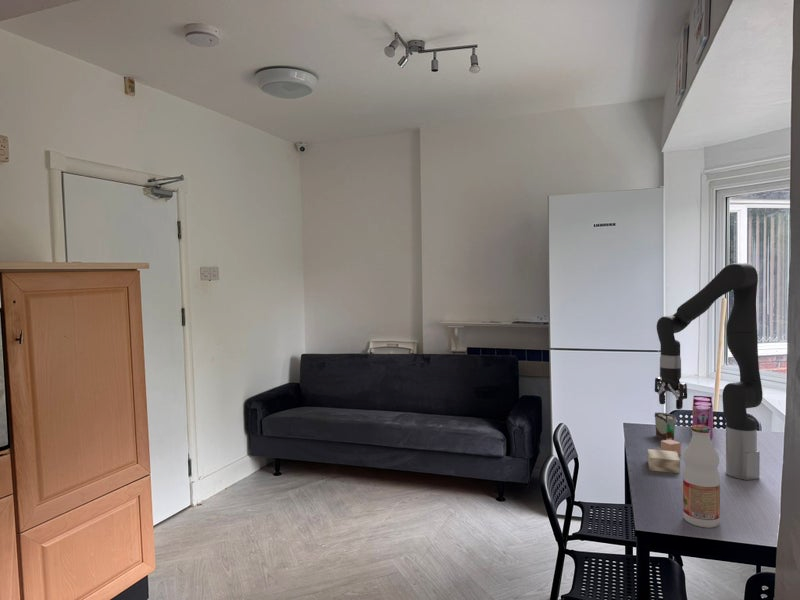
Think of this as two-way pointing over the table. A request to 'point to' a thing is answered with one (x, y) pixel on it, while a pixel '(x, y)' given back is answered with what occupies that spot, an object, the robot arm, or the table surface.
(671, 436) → the food container
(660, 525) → the table surface
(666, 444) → the terracotta cube
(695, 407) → the gum box
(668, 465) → the birch block
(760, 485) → the table surface
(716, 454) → the fruit juice
